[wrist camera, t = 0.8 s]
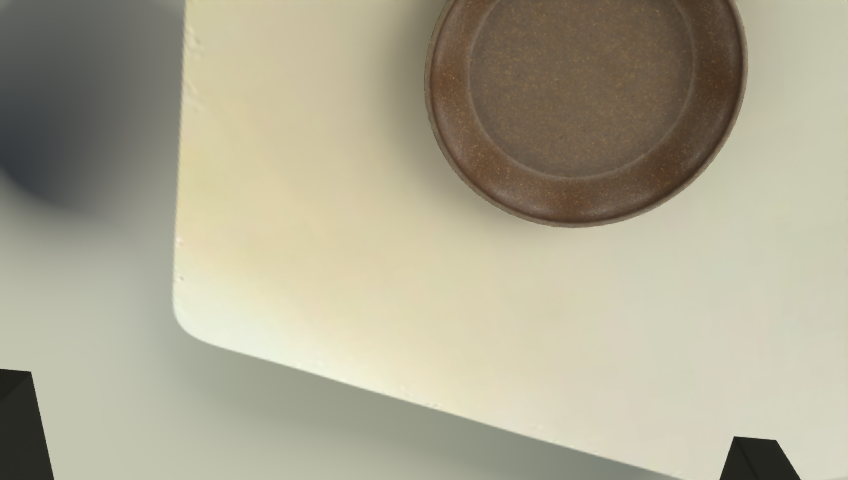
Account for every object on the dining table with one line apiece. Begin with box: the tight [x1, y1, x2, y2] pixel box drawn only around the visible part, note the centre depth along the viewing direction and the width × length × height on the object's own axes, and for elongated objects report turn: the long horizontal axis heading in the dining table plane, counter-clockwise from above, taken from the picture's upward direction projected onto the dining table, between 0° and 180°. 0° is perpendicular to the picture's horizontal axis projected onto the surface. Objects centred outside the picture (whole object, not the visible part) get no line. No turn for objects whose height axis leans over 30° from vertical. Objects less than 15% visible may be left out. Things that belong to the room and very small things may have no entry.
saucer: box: [424, 0, 748, 228], centre depth 32 cm, size 15×15×3 cm
